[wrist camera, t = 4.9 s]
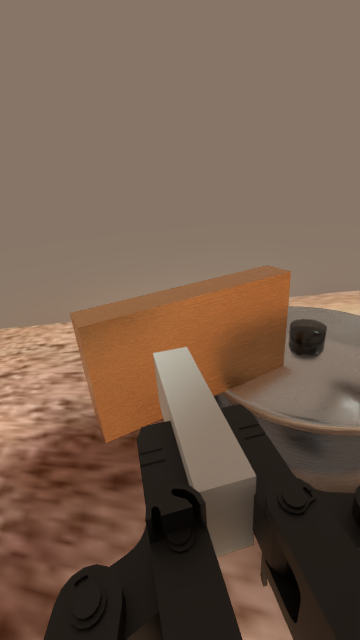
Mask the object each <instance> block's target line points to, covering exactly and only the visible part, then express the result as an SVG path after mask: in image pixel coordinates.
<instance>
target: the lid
mask: <svg viewBox="0 0 360 640" xmlns="http://www.w3.org/2000/svg"><path fill="white" fill-rule="evenodd" d="M290 276H291V272H290V271H287V270H283V269H279V268H275V267H271V266H263V267H258V268H255V269H250V270H246V271H242V272H238V273H234V274H230V275H225V276H222V277H217V278H213V279H209V280H205V281H201V282H197V283H192V284H189V285H184V286H180V287H176V288H172V289H168V290H164V291H160V292H156V293H151V294H147V295H143V296H139V297H135V298H131V299H127V300H122V301H119V302H114V303H110V304H106V305H102V306H98V307H94V308H89V309H85V310H81V311H78V312H73V313H70V316H71V320H72V324H73V328H74V332H75V336H76V340H77V344H78V348H79V352H80V356H81V360H82V364H83V368H84V372H85V376H86V380H87V384H88V388H89V392H90V396H91V400H92V404H93V408H94V412H95V416H96V420H97V422H98V425H99V427H100V430H101V432H102V435H103V437H104V440H105V442H106V443H107V442H110V441H112V440H114V439H117V438H119V437H121V436H123V435H126V434H128V433H130V432H133V431H135V430H137V429H140V428H141V427H144V426H146V425H149V424H151V423H153V422H156V421H158V420H160V419H163V415H162V412H161V408H160V404H159V396H158V389H157V381H156V374H155V366H154V359H153V353H156V352H162V351H167V350H173V349H178V348H183V347H187V348H188V350H189V352H190V354H191V355H192V357H193V359H194V361H195V363H196V365H197V367H198V368H199V370H200V372H201V374H202V376H203V378H204V380H205V381H206V383H207V385H208V387H209V389H210V391H211V393H212V394H213V396H215V395H218V394H222V395H223V396H224V397H225V398H227V399H228V400H229V401H230V402H232V403H233V404H235V405H237V404H241V405H242V406H244V407H245V408H246V409H248V410H249V411H251V412H252V413H253V415H255V416H257V417H259V418H262V419H265V420H267V421H270V422H272V423H275V424H278V425H282V426H285V427H289V428H293V429H296V430H302V431H307V432H312V433H319V434H328V435H349V436H358V435H360V316H358V315H354V314H350V313H346V312H341V311H336V310H329V309H323V308H313V307H292V306H288V302H289V289H290Z"/></svg>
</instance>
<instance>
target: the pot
mask: <svg viewBox="0 0 360 640" xmlns="http://www.w3.org/2000/svg"><path fill="white" fill-rule="evenodd" d="M214 398H215V400H216V402H217V404H218V406H219V407H220V408H224V407H228V406H232V405H235V404H233V403H232V402H230V401H229V400H228V399H227V398H225V397H224V396H223V395H222V394H218V395H215V396H214ZM254 416H255V415H254ZM255 418H256V419H257V421H258V422H259V425H260V426H261V427H262V428H263V430H264V431H265V433H266V435H267V436H268V437H269V439H270V440H271V442H272V443H273V445H274V446H275V448H276V449H277V451H278V452H279V454H280V455H281V456H282V458H283V459H284V461H285V462H286V464H287V465H288V467H289V468H290V470H291V471H292V473H293V474H294V475H295V476H296V477H297V478H299V479H301V480H303V481H305V482H306V483H308V484H310V485H311V486H312V487H313V488H314V489H317V490H320V491H325V492H337V493H355V492H356V489H357V487H358V486H359V485H360V435H358V436H349V435H328V434H319V433H312V432H307V431H302V430H296V429H293V428H289V427H285V426H282V425H278V424H275V423H272V422H270V421H267V420H265V419H262V418H259V417H257V416H255Z"/></svg>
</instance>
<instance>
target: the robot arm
mask: <svg viewBox="0 0 360 640" xmlns="http://www.w3.org/2000/svg"><path fill="white" fill-rule="evenodd" d="M153 359H154V366H155V374H156V381H157V389H158V396H159V404H160V408H161V412H162V415H163V419H164V422H162V423H158V424H153V425H149V426H145V427H141V430H140V433H139V436H138V438H137V445H138V452H139V460H140V467H141V474H142V482H143V489H144V497H145V504H146V519H145V521H146V528H145V531H144V533H143V535H142V538H141V540H140V541H139V542H138V544H137V545H136V546H135V548H134V549H132V550H131V551H130V552H129V553H128V554H127V555H125V556H124V557H123V558H121V559H120V560H118V561H117V562H116V563H114V564H113V565H111V566H110V567H107V566H102V565H97V564H96V565H92V566H88V567H85V568H83V569H82V570H80V571H79V572H77V573H76V574H74V575H73V576H72V577H71V578H70V579H69V580H68V582H67V583H66V584H65V585H64V587H63V588H62V589H61V591H60V593H59V595H58V598H57V600H56V602H55V604H54V607H53V610H52V614H51V617H50V620H49V624H48V627H47V630H46V633H45V637H44V640H242V637H241V633H240V630H239V627H238V624H237V621H236V617H235V614H234V611H233V608H232V605H231V601H230V598H229V595H228V592H227V589H226V585H225V582H224V579H223V576H222V573H221V570H220V566H219V563H218V560H217V557H218V556H221V555H224V554H227V553H230V552H233V551H236V550H239V549H242V548H245V547H249V546H252V545H254V534H255V537H256V539H257V541H258V543H259V546H260V548H261V550H262V561H261V580H262V584H263V586H266V585H267V579H268V580H269V583H270V585H271V587H272V590H273V592H274V595H275V597H276V599H277V602H278V604H279V606H280V609H281V611H282V614H283V616H284V618H285V621H286V623H287V625H288V628H289V630H290V632H291V635H292V637H293V640H360V485H359V486H358V487H357V489H356V492H355V493H337V492H325V491H320V490H317V489H314V488H313V487H312V486H311V485H310V484H308V483H306V482H305V481H303V480H301V479H299V478H297V477H296V476H295V475H294V474H293V473H292V471H291V470H290V468H289V467H288V465H287V464H286V462H285V461H284V459H283V458H282V456H281V455H280V454H279V452H278V451H277V449H276V448H275V446H274V445H273V443H272V442H271V440H270V439H269V437H268V436H267V435H266V433H265V431H264V430H263V428H262V427H261V426H260V425H259V422H258V421H257V419H256V418H255V416H254V415H253V413H252V412H251V411H249V410H248V409H246V408H245V407H244V406H242V405H241V404H237V405H232V406H228V407H224V408H220V407H219V406H218V404H217V402H216V400H215V398H214V396H213V394H212V393H211V391H210V389H209V387H208V385H207V383H206V381H205V380H204V378H203V376H202V374H201V372H200V370H199V368H198V367H197V365H196V363H195V361H194V359H193V357H192V355H191V354H190V352H189V350H188V348H187V347H183V348H178V349H173V350H167V351H162V352H156V353H153Z"/></svg>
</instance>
